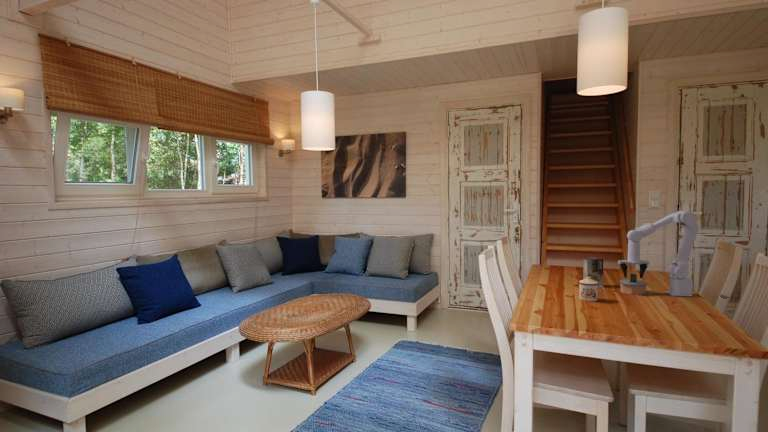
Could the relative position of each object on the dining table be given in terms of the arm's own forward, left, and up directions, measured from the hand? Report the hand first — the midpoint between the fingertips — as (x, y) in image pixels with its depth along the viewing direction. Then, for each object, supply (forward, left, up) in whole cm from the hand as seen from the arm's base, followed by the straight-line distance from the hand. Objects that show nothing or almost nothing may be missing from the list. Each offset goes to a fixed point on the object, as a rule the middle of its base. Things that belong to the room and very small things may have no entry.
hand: (633, 277), depth 234 cm
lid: (0, 0, -3) cm, 3 cm away
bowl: (0, 0, -8) cm, 8 cm away
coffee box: (+17, -13, -8) cm, 23 cm away
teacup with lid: (+25, +20, -8) cm, 33 cm away
